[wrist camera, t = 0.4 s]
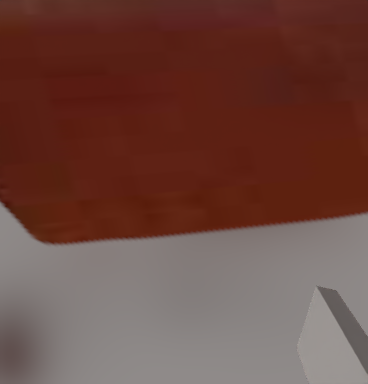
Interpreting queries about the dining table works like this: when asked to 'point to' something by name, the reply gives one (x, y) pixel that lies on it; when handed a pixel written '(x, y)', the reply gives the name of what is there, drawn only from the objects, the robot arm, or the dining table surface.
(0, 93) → the dining table surface
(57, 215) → the dining table surface
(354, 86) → the dining table surface
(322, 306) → the robot arm
